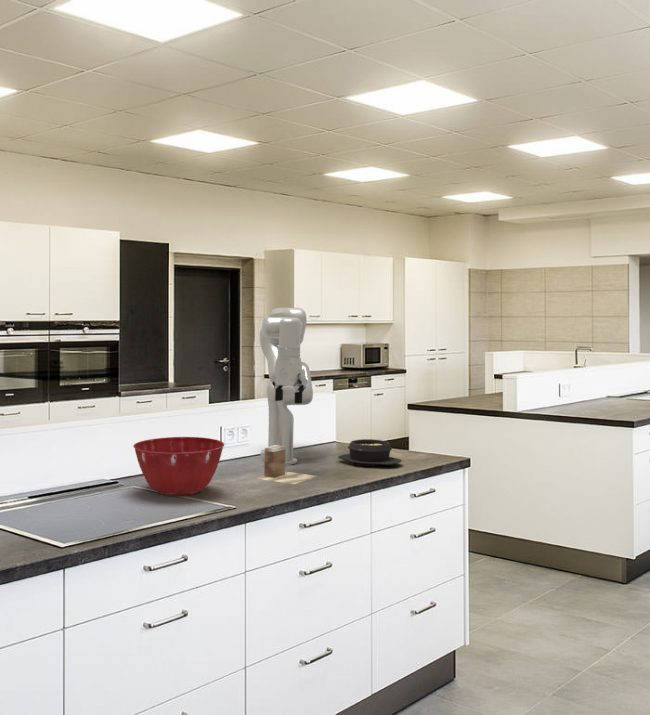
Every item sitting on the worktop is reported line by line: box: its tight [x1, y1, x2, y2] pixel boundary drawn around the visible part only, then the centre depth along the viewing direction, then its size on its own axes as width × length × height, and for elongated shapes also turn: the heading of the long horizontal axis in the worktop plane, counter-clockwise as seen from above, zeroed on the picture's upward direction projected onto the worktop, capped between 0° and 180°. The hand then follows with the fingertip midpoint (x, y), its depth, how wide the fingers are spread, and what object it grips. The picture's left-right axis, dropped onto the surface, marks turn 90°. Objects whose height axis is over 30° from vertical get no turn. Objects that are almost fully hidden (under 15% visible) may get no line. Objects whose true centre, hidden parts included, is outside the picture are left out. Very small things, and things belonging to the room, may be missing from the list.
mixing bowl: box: [132, 436, 225, 497], centre depth 262 cm, size 28×28×16 cm
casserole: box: [337, 438, 402, 467], centre depth 315 cm, size 25×19×8 cm
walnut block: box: [263, 445, 286, 478], centre depth 287 cm, size 4×7×10 cm, turn 150°
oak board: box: [254, 471, 318, 485], centre depth 285 cm, size 16×16×1 cm
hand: (288, 401), depth 290 cm, fingers open, 9 cm apart
